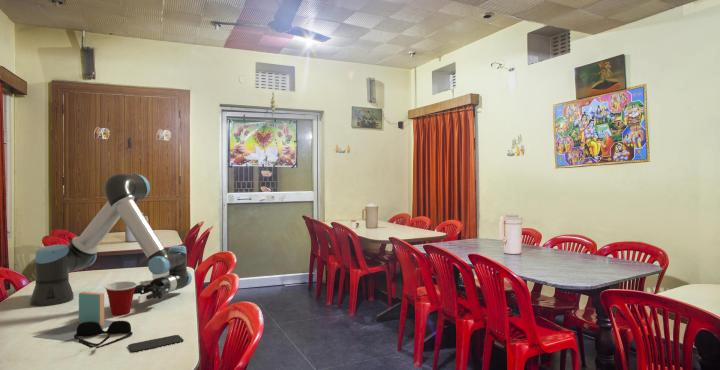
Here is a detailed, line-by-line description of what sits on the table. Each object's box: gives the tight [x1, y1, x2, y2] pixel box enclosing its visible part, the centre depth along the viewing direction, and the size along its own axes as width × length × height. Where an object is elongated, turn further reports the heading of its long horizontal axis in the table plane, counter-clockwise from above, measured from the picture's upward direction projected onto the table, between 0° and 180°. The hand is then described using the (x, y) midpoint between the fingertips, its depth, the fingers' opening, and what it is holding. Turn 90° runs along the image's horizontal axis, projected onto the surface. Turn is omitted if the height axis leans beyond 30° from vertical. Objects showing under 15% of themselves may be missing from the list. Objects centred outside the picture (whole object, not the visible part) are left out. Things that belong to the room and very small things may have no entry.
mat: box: [32, 319, 115, 343], centre depth 146 cm, size 16×20×1 cm
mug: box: [151, 271, 169, 280], centre depth 222 cm, size 12×10×8 cm
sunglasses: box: [74, 320, 134, 349], centre depth 134 cm, size 17×14×5 cm
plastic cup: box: [104, 280, 138, 317], centre depth 164 cm, size 11×11×12 cm
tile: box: [78, 291, 105, 326], centre depth 151 cm, size 9×2×11 cm, turn 75°
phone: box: [127, 334, 184, 353], centre depth 134 cm, size 7×1×15 cm
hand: (124, 298), depth 164 cm, fingers open, 13 cm apart
